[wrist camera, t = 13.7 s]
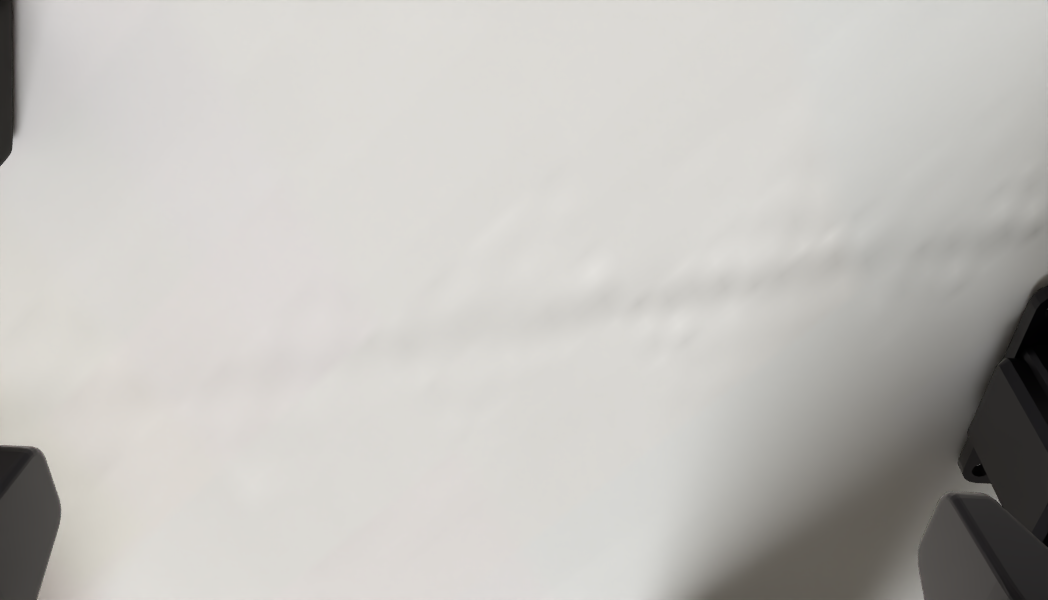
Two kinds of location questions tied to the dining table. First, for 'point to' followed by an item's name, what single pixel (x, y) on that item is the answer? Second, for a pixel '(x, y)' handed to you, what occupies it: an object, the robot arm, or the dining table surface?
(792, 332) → the dining table surface
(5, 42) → the battery
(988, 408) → the robot arm
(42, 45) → the dining table surface
